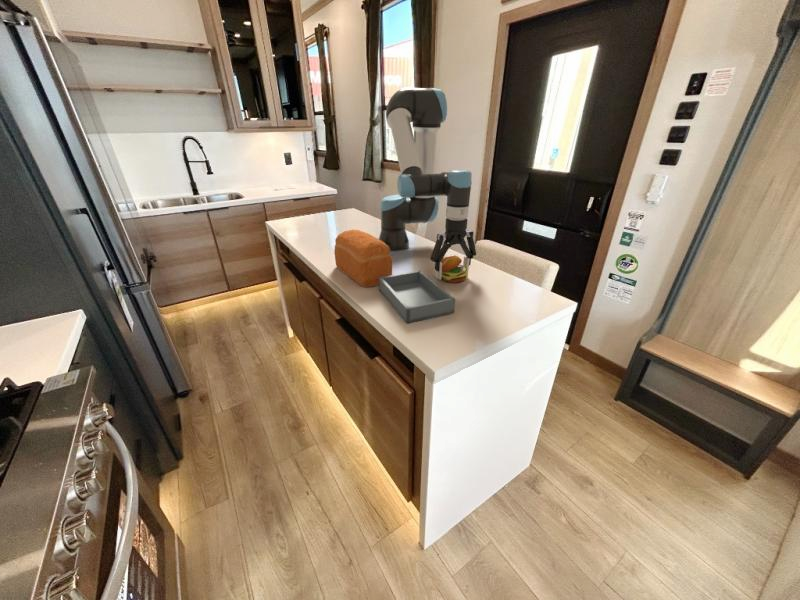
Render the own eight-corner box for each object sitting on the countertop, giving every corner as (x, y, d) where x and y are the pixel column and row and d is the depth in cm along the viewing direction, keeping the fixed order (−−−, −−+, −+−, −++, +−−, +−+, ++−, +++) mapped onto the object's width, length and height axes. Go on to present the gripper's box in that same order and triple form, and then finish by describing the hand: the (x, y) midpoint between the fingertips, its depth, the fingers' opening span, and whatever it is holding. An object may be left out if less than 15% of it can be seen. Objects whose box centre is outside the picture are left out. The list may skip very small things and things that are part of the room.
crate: (379, 290, 113) (378, 277, 111) (419, 282, 118) (420, 270, 116) (406, 323, 93) (406, 309, 91) (453, 313, 99) (455, 298, 97)
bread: (363, 290, 113) (360, 247, 106) (333, 266, 133) (329, 229, 125) (395, 281, 120) (395, 240, 113) (363, 260, 140) (361, 224, 132)
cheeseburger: (468, 284, 116) (463, 259, 112) (439, 288, 119) (434, 264, 115) (468, 273, 125) (464, 249, 121) (441, 277, 128) (436, 254, 124)
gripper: (432, 223, 104) (429, 284, 114) (491, 217, 112) (483, 274, 122) (421, 218, 110) (420, 277, 121) (478, 212, 118) (472, 267, 129)
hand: (452, 275), depth 121 cm, fingers closed on cheeseburger, 11 cm apart
